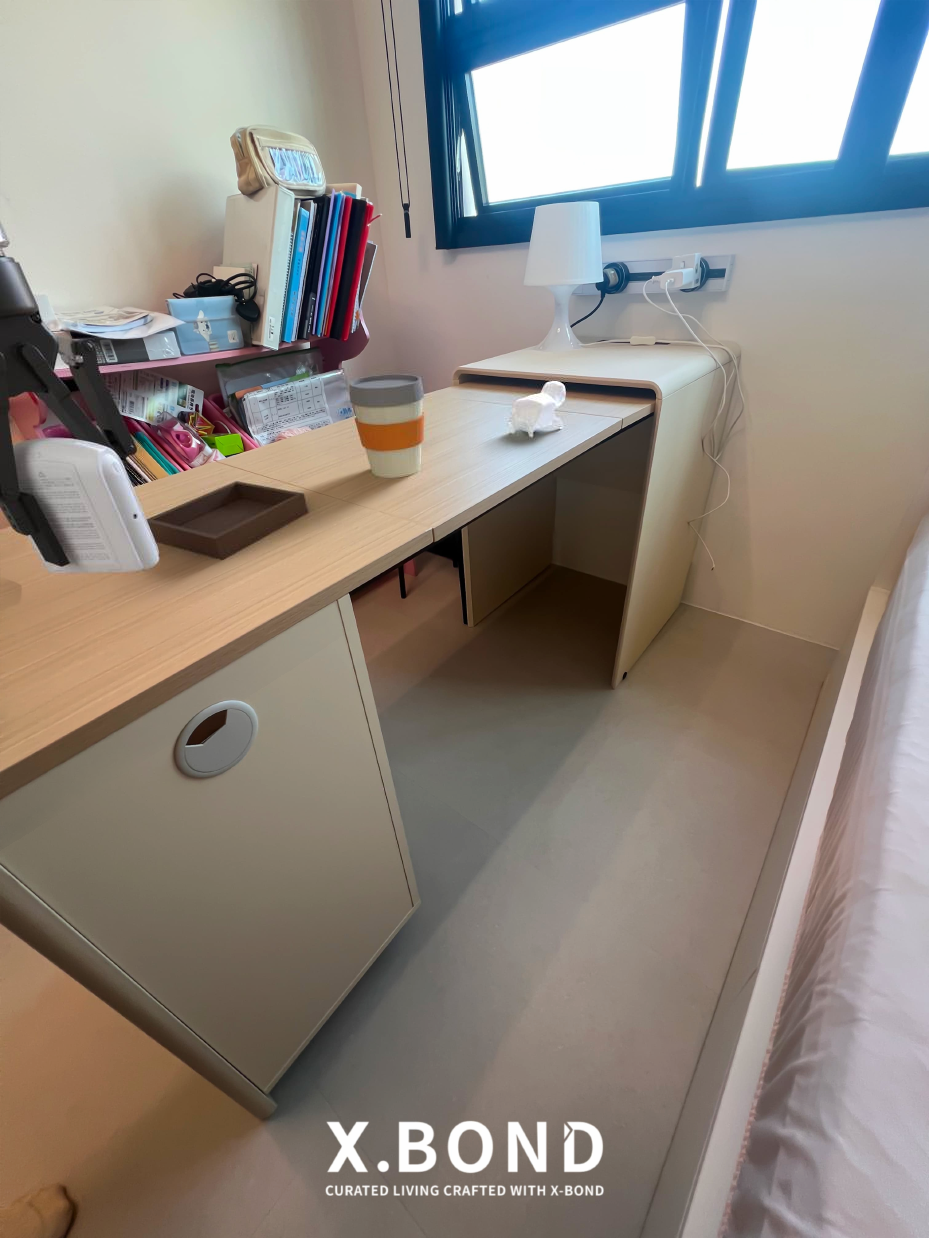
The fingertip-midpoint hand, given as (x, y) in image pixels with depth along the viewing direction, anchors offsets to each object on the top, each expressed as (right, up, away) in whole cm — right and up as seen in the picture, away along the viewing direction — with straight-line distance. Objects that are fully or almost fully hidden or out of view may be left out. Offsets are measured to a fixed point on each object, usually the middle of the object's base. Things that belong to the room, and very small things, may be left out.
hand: (95, 546), depth 49 cm
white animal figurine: (+52, +35, +62) cm, 88 cm away
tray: (+1, +7, +26) cm, 27 cm away
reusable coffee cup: (+23, +20, +44) cm, 54 cm away
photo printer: (0, -2, +1) cm, 2 cm away
